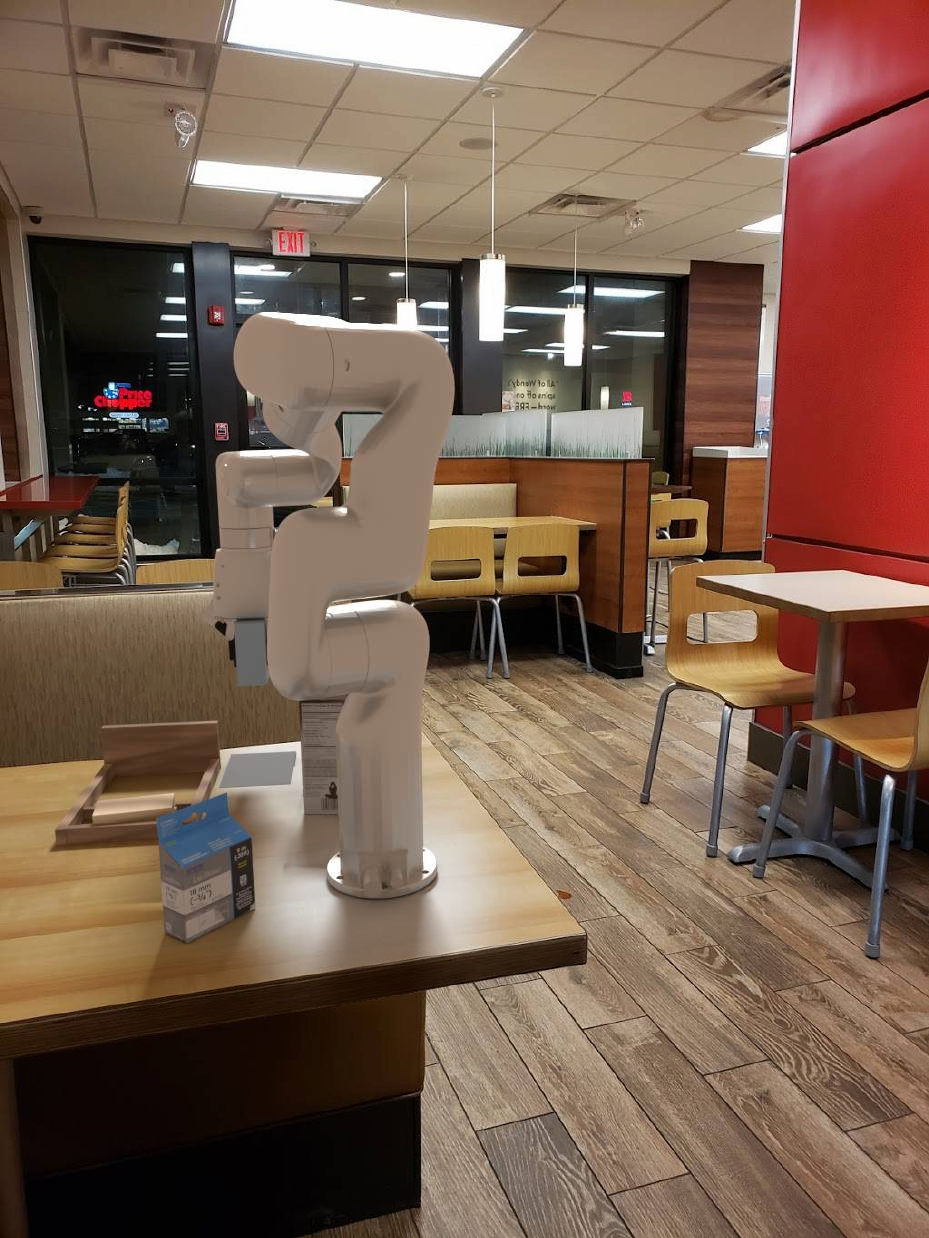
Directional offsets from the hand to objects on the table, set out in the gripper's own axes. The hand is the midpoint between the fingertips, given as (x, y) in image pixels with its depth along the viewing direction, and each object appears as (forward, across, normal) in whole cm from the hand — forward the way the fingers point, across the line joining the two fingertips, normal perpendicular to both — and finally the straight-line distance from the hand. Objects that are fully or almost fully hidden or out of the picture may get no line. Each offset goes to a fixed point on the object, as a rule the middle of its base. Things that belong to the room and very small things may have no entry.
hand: (253, 663), depth 133 cm
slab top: (+15, +14, +19) cm, 28 cm away
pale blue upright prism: (+2, 0, 0) cm, 2 cm away
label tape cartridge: (+17, +1, +43) cm, 46 cm away
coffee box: (+17, -11, +13) cm, 24 cm away
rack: (+17, +14, +11) cm, 24 cm away
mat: (+17, 0, 0) cm, 17 cm away
